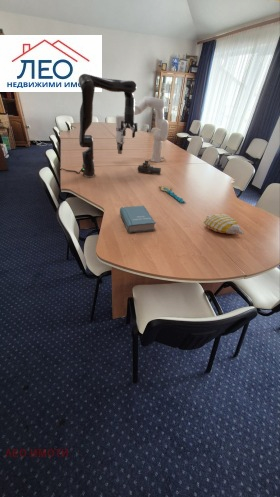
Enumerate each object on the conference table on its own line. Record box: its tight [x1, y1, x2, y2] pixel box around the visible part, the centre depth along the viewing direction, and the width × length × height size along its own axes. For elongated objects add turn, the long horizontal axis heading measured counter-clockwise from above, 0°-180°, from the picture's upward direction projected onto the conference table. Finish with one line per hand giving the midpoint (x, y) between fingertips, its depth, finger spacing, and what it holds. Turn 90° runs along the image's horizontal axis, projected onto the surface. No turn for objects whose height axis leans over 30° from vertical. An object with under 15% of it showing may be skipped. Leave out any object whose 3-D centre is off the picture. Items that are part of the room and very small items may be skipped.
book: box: [119, 205, 156, 233], centre depth 136 cm, size 23×16×5 cm
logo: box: [158, 185, 186, 204], centre depth 176 cm, size 34×10×1 cm, turn 16°
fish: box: [203, 213, 245, 235], centre depth 133 cm, size 25×8×20 cm
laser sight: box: [137, 160, 162, 175], centre depth 213 cm, size 10×22×10 cm, turn 78°
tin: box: [117, 144, 123, 155], centre depth 224 cm, size 4×4×9 cm
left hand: (128, 136), depth 178 cm, fingers open, 8 cm apart
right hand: (119, 149), depth 225 cm, fingers closed on tin, 4 cm apart
